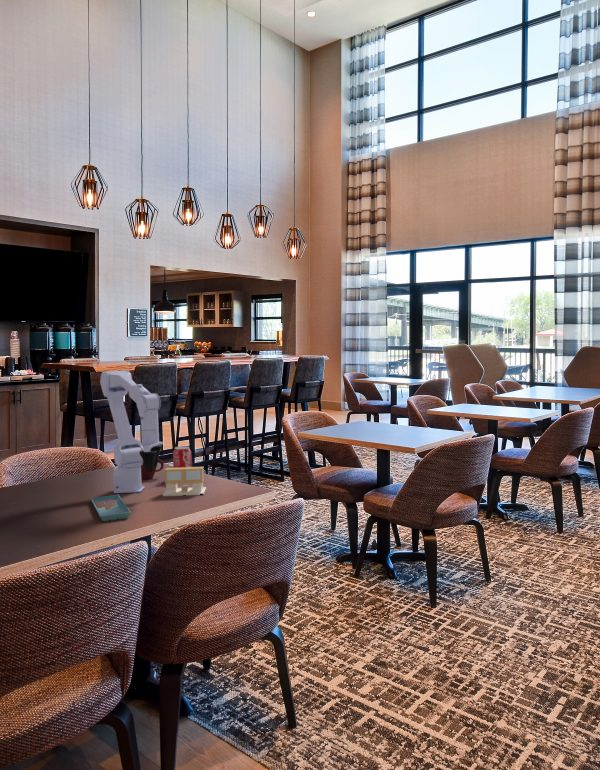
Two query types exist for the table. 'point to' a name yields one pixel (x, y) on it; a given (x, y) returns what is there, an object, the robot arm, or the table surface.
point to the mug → (150, 474)
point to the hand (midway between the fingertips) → (151, 469)
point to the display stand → (184, 490)
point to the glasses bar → (184, 475)
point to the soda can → (182, 457)
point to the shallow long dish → (112, 508)
